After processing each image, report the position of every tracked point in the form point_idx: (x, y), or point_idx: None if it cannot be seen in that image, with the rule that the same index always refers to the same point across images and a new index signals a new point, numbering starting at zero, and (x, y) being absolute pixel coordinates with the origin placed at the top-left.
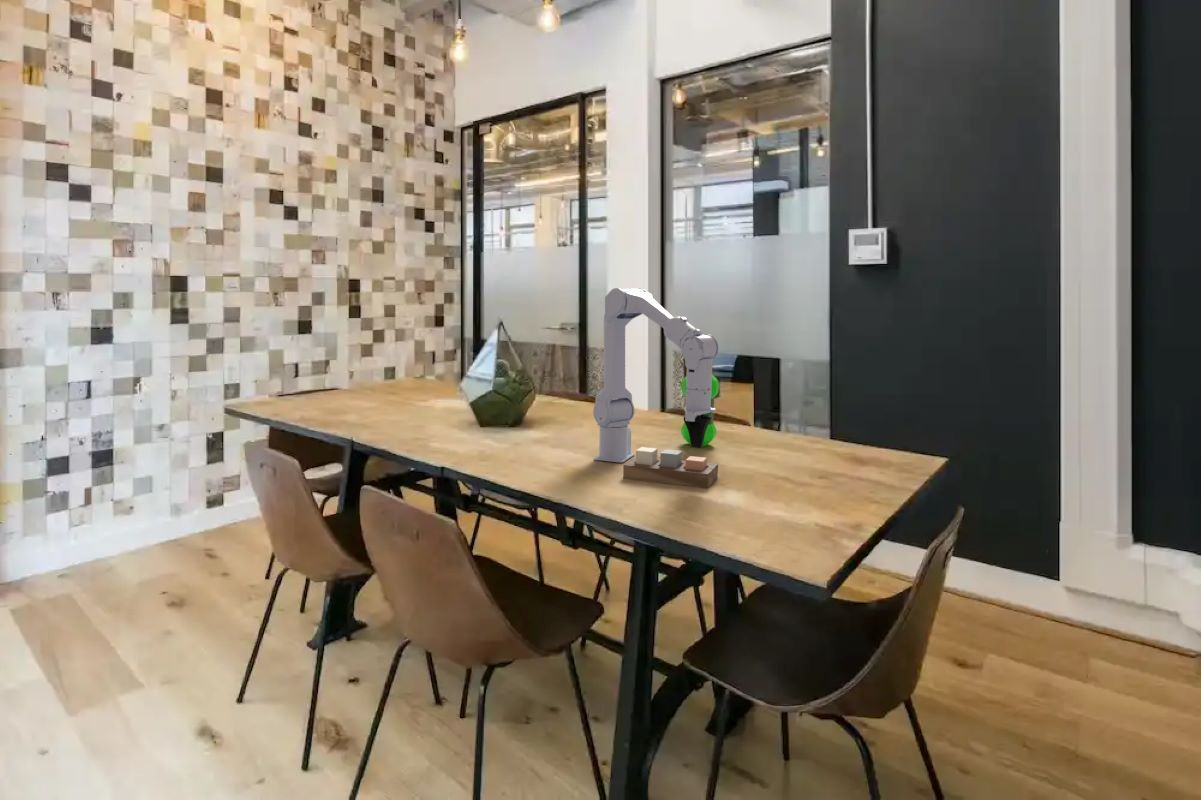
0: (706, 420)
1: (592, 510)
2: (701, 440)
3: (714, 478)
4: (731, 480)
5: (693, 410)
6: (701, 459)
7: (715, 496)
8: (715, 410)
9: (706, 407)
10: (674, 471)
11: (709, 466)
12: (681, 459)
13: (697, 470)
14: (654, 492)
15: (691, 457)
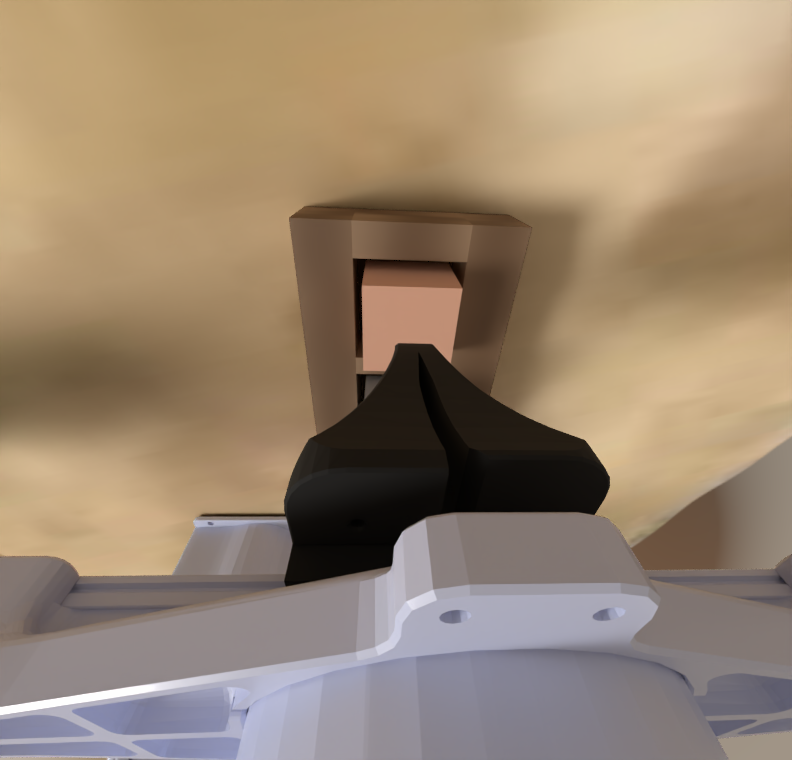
0: (601, 466)
1: (758, 457)
2: (450, 365)
3: (372, 210)
4: (326, 113)
5: (735, 717)
6: (417, 305)
7: (644, 145)
8: (506, 542)
9: (696, 736)
10: (492, 377)
11: (367, 254)
12: (369, 392)
13: (469, 294)
14: (591, 379)
15: (390, 359)
